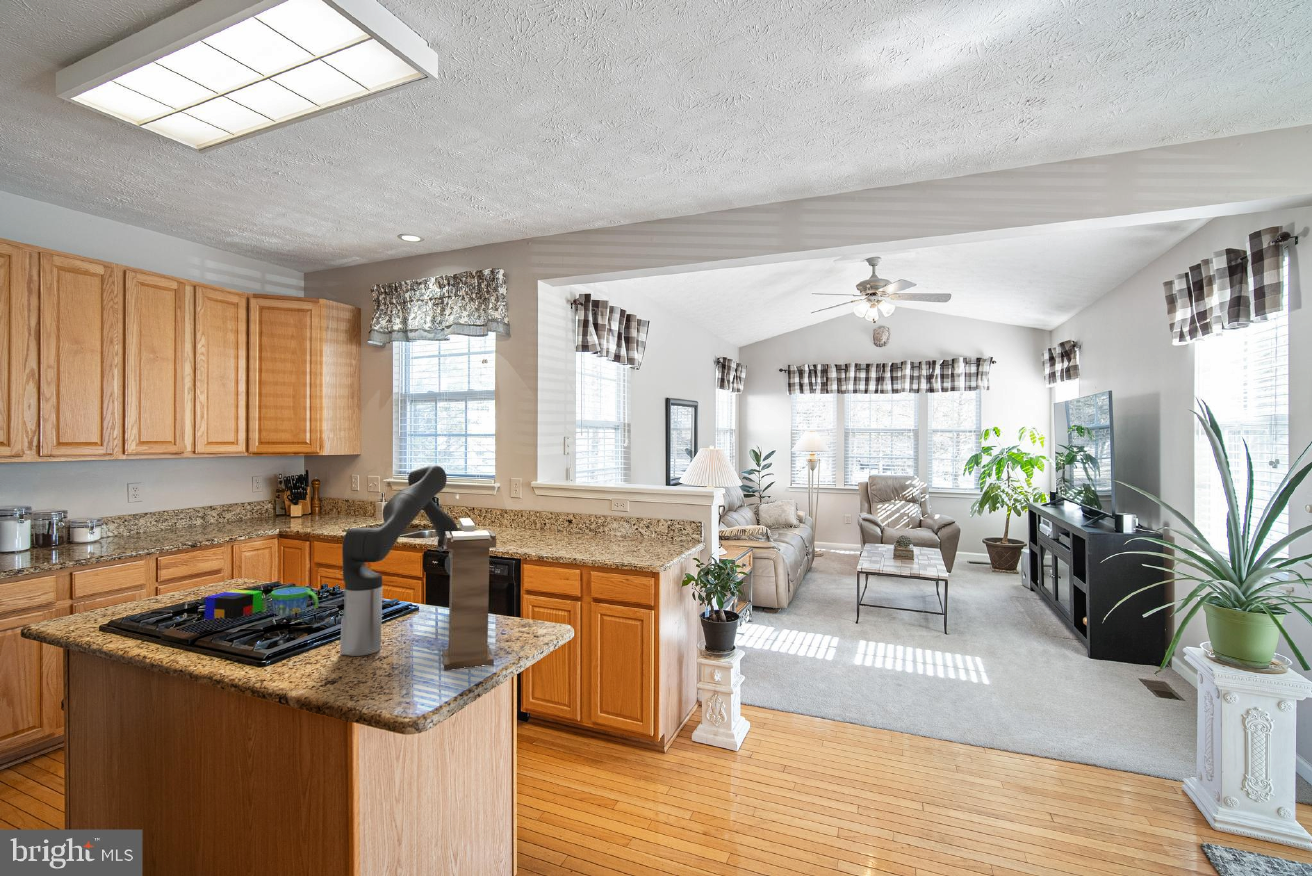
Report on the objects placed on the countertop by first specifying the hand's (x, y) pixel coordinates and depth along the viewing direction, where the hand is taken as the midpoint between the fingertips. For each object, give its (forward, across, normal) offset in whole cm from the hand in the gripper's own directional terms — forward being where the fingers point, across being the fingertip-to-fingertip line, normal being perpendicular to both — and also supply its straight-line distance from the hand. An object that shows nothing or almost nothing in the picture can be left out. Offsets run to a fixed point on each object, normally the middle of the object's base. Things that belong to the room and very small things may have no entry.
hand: (462, 538), depth 180 cm
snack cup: (-33, -50, +18) cm, 63 cm away
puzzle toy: (-33, -65, +18) cm, 75 cm away
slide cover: (+19, +1, +3) cm, 19 cm away
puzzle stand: (+13, +2, +36) cm, 38 cm away
